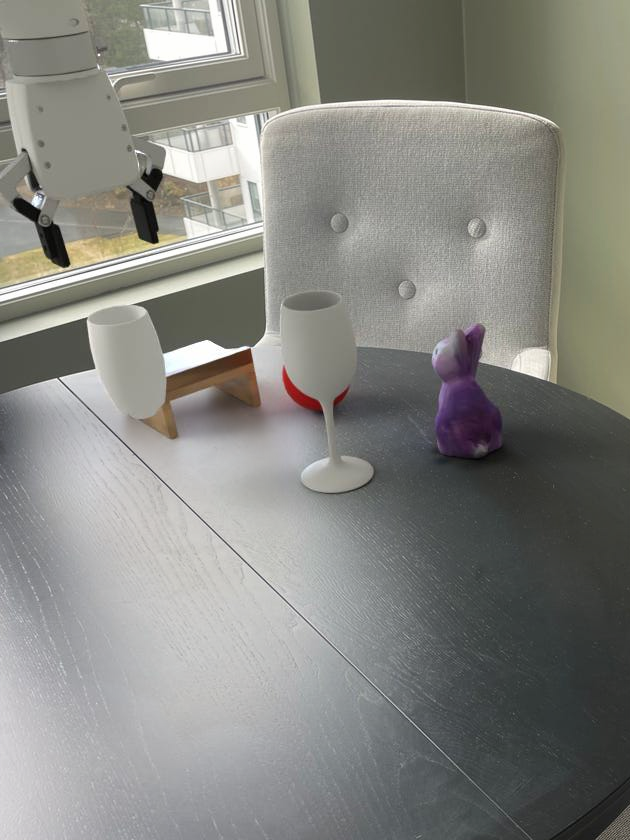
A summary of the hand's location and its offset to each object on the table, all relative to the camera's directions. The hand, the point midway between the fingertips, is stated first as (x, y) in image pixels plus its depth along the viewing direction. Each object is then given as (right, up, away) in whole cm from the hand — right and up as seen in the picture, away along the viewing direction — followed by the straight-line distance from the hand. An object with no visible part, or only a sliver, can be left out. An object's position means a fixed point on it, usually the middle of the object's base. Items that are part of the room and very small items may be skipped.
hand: (106, 252), depth 98 cm
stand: (-1, -8, +34) cm, 35 cm away
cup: (0, -21, +17) cm, 27 cm away
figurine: (+36, -15, +23) cm, 45 cm away
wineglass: (+21, -20, +18) cm, 34 cm away
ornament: (+17, -8, +33) cm, 38 cm away
